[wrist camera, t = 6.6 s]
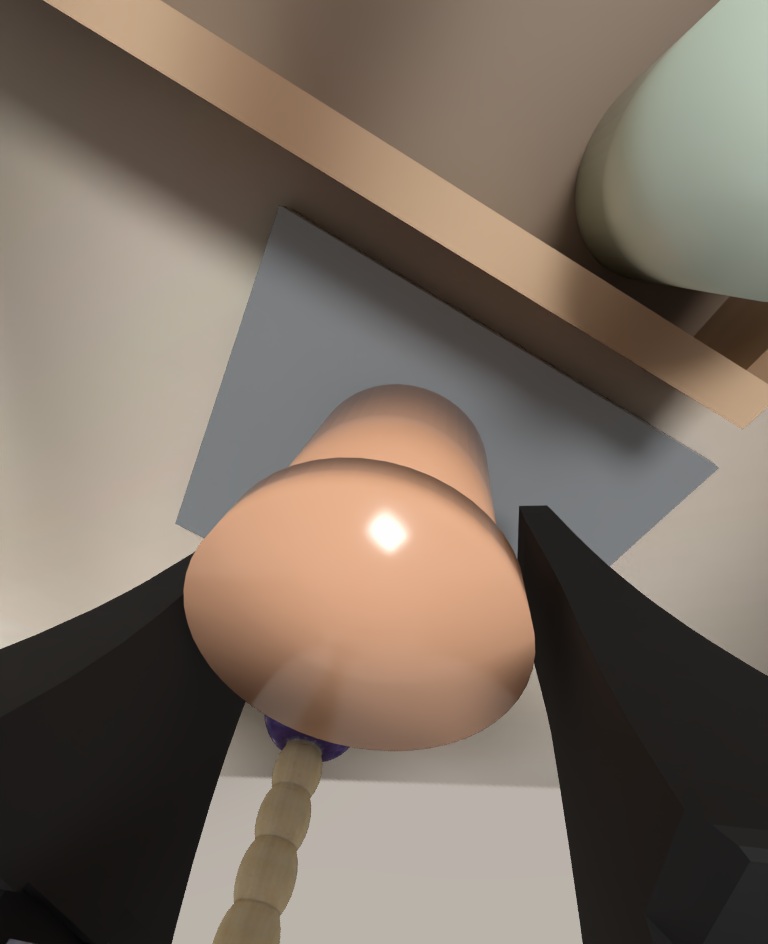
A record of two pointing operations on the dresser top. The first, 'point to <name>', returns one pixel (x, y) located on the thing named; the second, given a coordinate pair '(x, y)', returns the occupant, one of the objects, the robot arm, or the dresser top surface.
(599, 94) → the wooden tray
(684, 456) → the mat
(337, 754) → the toy lamp
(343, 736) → the terracotta pot
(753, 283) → the pale green egg
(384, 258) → the dresser top surface
